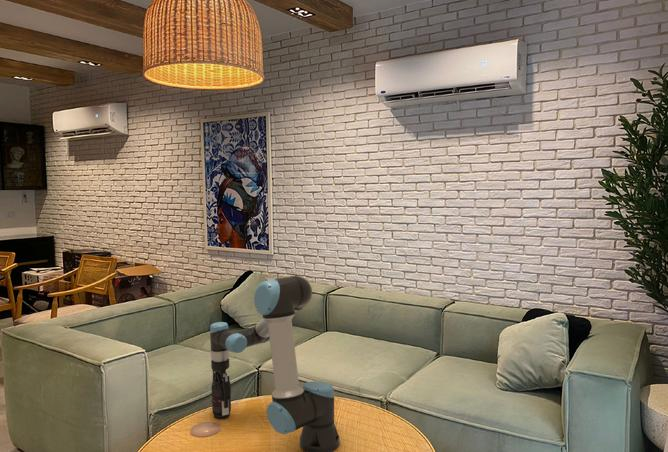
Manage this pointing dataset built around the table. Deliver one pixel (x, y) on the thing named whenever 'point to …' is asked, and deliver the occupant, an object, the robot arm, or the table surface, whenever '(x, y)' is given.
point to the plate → (205, 429)
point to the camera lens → (218, 400)
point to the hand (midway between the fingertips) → (221, 410)
